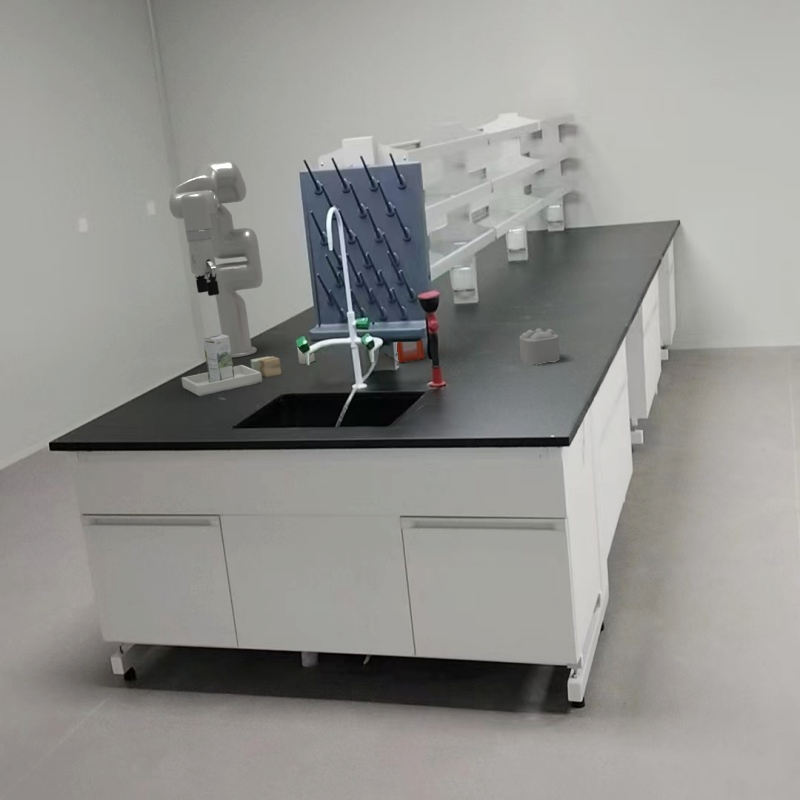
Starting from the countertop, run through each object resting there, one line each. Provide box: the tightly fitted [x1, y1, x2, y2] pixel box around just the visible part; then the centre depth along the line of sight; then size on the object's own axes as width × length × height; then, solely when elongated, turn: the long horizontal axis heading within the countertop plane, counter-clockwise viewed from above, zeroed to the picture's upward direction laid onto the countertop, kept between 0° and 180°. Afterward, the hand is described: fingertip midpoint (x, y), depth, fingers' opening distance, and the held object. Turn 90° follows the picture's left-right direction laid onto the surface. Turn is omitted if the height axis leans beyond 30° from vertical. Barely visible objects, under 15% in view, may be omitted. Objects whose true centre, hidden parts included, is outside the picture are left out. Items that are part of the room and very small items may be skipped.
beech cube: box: [258, 355, 282, 378], centre depth 321 cm, size 5×5×5 cm
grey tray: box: [181, 364, 263, 397], centre depth 314 cm, size 16×20×3 cm
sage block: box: [250, 356, 270, 372], centre depth 327 cm, size 4×6×4 cm, turn 111°
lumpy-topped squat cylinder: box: [519, 327, 561, 364], centre depth 302 cm, size 10×13×9 cm
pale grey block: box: [296, 346, 316, 365], centre depth 333 cm, size 5×5×6 cm
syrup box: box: [202, 333, 235, 383], centre depth 312 cm, size 6×6×14 cm
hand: (208, 293), depth 307 cm, fingers open, 9 cm apart
